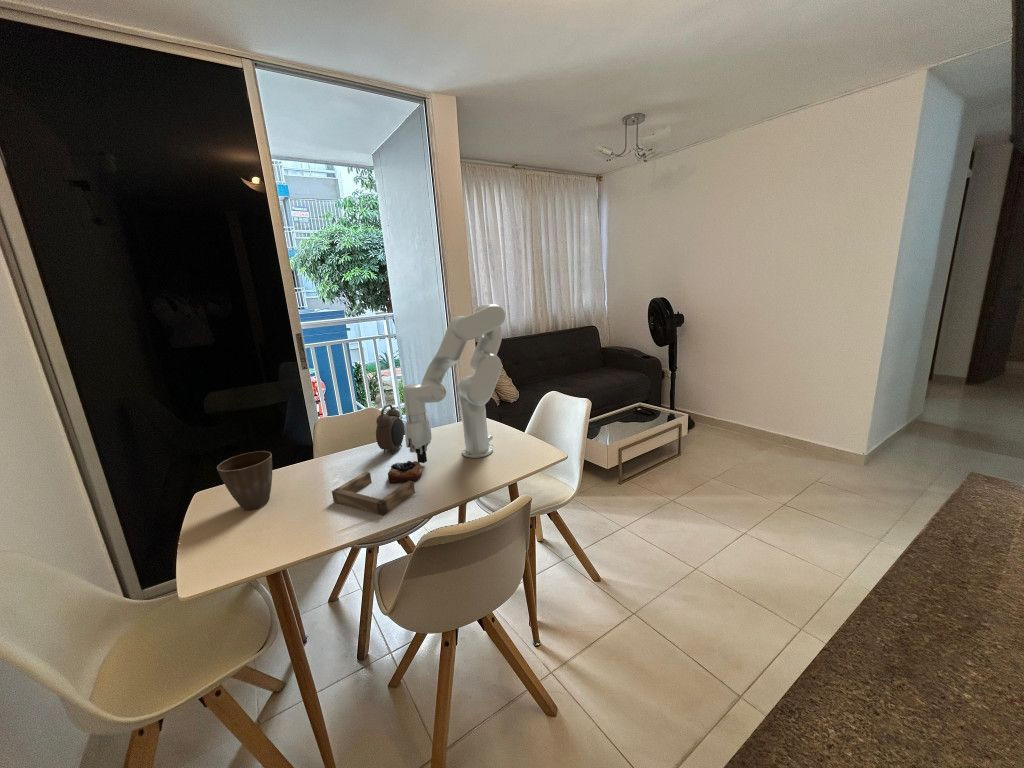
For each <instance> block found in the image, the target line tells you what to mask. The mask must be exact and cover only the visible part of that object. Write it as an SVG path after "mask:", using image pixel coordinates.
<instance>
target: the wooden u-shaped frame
mask: <svg viewBox="0 0 1024 768" xmlns="http://www.w3.org/2000/svg"><path fill="white" fill-rule="evenodd" d="M370 484H372V476H371V472H369V471H364V472H363V473H361V474H359V475H357V476H356V477H354V478H352V479H350V480H349V481H346V483H344V484H341V485H340V486H338V487H336V488H335V489H333V490H331V494H332V499H333V503H335V504H339V505H342V506H346V507H350V508H353V509H357V510H361V511H365V512H369V513H372V514H376V515H380V516H385V515H387V514H388V513H389V512H391V510H393V509H395V508H396V507H398V506H399V505H400V504H401V503H403V502H404V501H406V500H407V499H408V498H410V497H411V496H412V495H414V494H415V493H416V491H415V483H414V482H413V481H408V482H406V483H402V485H400V486H399V487H398V488H396V489H394V490H393V491H392V492H390V493H388V494H387V495H386V496H384V497H383V498H381V499H380V498H377V497H373V496H369V495H365V494H361V493H357V492H359V491H361V490H362V489H364V488H365V487H367V486H368V485H369V486H370Z"/></svg>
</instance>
